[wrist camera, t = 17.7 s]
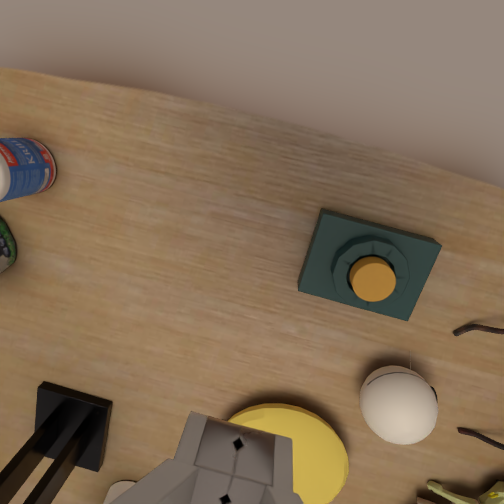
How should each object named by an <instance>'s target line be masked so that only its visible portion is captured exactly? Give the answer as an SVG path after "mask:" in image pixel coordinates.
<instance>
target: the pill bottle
mask: <svg viewBox="0 0 504 504" xmlns="http://www.w3.org/2000/svg"><path fill="white" fill-rule="evenodd" d="M55 175H56V167H55V162H54V159H53V157H52V155H51V154H50V152H49V151H48V150H47V149H46V148H45V147H44V146H43V145H42V144H41V143H39V142H38V141H35V140H33V139H29V138H0V202H2V201H6V200H10V199H15V198H19V197H23V196H28V195H32V194H36V193H40V192H43V191H45V190H46V189H48V188H49V187H50V186H51V185H52V183H53V181H54V179H55Z"/></svg>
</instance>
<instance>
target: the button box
mask: <svg viewBox="0 0 504 504" xmlns="http://www.w3.org/2000/svg"><path fill="white" fill-rule="evenodd" d="M441 247H442V245H441V244H439V243H438V242H437V241H436V240H434V239H432V238H429V237H425V236H421V235H418V234H414V233H410V232H407V231H403V230H399V229H396V228H392V227H388V226H385V225H381V224H377V223H374V222H370V221H366V220H363V219H359V218H355V217H352V216H348V215H344V214H341V213H337V212H333V211H330V210H326V209H321V211H320V214H319V218H318V221H317V224H316V227H315V230H314V233H313V236H312V239H311V242H310V245H309V248H308V251H307V255H306V258H305V261H304V264H303V267H302V270H301V273H300V276H299V279H298V291H300V292H304V293H308V294H311V295H315V296H318V297H322V298H326V299H329V300H333V301H336V302H340V303H344V304H347V305H350V306H354V307H357V308H361V309H364V310H369V311H372V312H376V313H380V314H383V315H387V316H390V317H394V318H398V319H401V320H405V321H408V320H409V317H410V315H411V313H412V311H413V309H414V306H415V304H416V302H417V300H418V298H419V295H420V293H421V291H422V289H423V287H424V284H425V282H426V280H427V278H428V276H429V274H430V271H431V269H432V267H433V265H434V263H435V260H436V258H437V256H438V254H439V252H440V249H441ZM371 256H372V257H378V258H381V259H383V260H384V261H385V262H386V263H387V264H388V265H389V266H390V268H391V269H392V271H393V272H394V274H395V277H396V285H395V288H394V290H393V292H392V293H391V294H390V295H389V296H388V297H387V298H385V299H383V300H381V301H376V302H370V301H366V300H363V299H361V298H360V297H358V296H357V295H356V293H355V292H354V290H353V287H352V284H351V282H350V271H351V268H352V267H353V265H354V264H355V263H356V262H357V261H358V260H360V259H362V258H365V257H371Z"/></svg>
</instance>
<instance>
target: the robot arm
mask: <svg viewBox="0 0 504 504" xmlns="http://www.w3.org/2000/svg"><path fill="white" fill-rule="evenodd" d="M207 417H208V418H207ZM206 421H207V422H206ZM109 504H304V503H303V501H302V499H301V498H300V496H299V494H297V493H294V492H293V441H292V439H291V438H289V437H285V436H281V435H277V434H273V433H270V432H266V431H262V430H258V429H254V428H250V427H246V426H243V425H238V424H234V423H231V422H228V421H224V420H221V419H218V418H214V417H211V416H206V415H203V414H200V413H196V412H193V411H191V412H190V414H189V416H188V419H187V422H186V425H185V428H184V431H183V433H182V436H181V439H180V442H179V445H178V448H177V451H176V454H175V456H174V459H173V460H172V459H167V460H166V461H164V462H163V463H162V464H160V465H159V466H158V467H156V468H155V469H154V470H152V471H151V472H150V473H148V474H147V475H146V476H145V477H143V478H142V479H141V480H139V481H138V482H137V483H135V484H134V485H133V486H131V487H130V488H129V489H128V490H126V491H125V492H124V493H122V494H121V495H120V496H118V497H117V498H116V499H114V500H113V501H112V502H110V503H109Z"/></svg>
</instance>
